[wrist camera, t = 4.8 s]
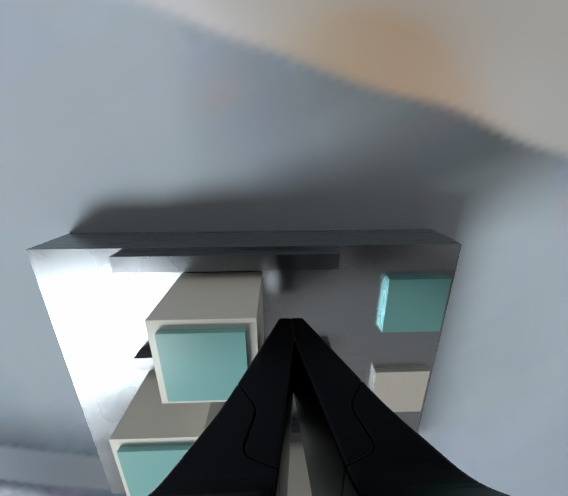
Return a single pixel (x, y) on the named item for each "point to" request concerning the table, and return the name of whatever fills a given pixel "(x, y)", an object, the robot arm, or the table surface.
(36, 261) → the switch base
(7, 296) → the table surface
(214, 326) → the slider
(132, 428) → the slider
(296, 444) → the slider
